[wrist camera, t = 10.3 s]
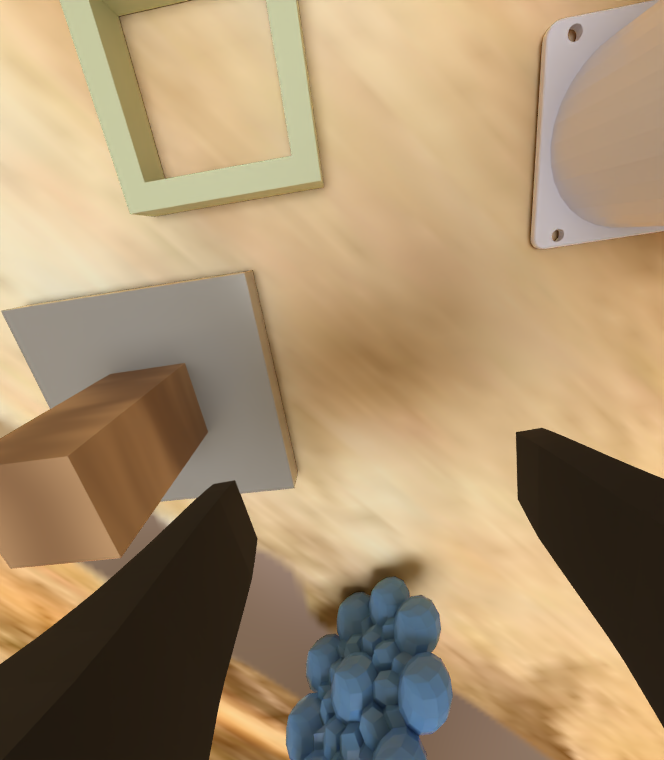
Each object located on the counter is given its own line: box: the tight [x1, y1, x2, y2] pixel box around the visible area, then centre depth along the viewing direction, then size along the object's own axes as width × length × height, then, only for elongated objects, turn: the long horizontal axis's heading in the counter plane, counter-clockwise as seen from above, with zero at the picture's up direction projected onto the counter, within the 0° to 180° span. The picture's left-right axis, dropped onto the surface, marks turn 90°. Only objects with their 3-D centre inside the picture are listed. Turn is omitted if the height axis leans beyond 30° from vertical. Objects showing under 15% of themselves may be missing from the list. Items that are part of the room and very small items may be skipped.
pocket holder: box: [60, 0, 324, 217], centre depth 14 cm, size 8×8×2 cm
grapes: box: [286, 576, 453, 760], centre depth 20 cm, size 12×7×12 cm, turn 133°
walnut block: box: [0, 363, 208, 569], centre depth 15 cm, size 4×4×8 cm
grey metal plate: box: [1, 270, 298, 502], centre depth 19 cm, size 12×12×2 cm
